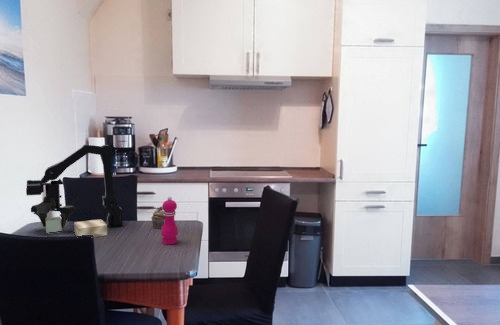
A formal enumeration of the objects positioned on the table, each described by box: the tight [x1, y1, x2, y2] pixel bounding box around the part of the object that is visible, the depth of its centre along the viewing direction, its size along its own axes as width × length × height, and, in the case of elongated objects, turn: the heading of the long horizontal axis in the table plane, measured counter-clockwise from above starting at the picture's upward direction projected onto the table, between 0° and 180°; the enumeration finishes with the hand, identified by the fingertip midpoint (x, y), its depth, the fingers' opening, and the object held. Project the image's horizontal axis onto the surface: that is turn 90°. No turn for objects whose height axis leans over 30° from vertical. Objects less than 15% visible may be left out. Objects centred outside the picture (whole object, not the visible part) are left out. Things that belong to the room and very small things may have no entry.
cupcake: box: [151, 206, 165, 230], centre depth 185 cm, size 10×10×10 cm
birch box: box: [73, 219, 108, 238], centre depth 171 cm, size 12×12×5 cm
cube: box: [45, 216, 63, 234], centre depth 174 cm, size 6×6×6 cm
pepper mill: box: [160, 196, 179, 245], centre depth 161 cm, size 7×7×20 cm
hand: (53, 227), depth 174 cm, fingers open, 9 cm apart
